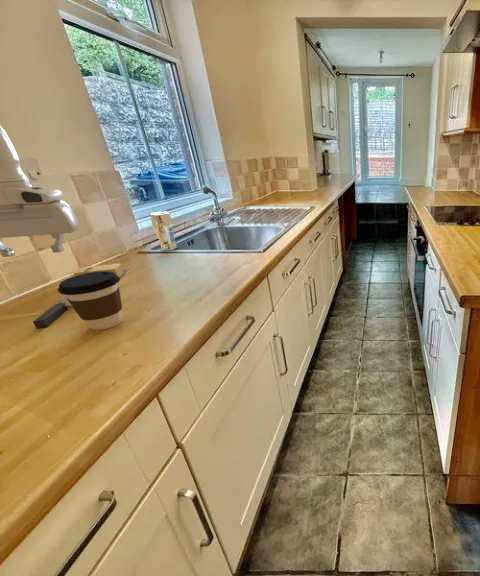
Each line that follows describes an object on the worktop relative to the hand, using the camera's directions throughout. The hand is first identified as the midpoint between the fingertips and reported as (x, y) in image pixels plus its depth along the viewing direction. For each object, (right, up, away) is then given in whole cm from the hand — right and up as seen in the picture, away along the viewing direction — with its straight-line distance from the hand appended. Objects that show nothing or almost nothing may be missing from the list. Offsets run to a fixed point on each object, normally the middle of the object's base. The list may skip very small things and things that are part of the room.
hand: (34, 253), depth 77 cm
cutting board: (-7, -7, +25) cm, 26 cm away
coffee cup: (+16, -17, +1) cm, 24 cm away
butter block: (-4, -5, +25) cm, 26 cm away
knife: (-1, -14, +9) cm, 16 cm away
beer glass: (-7, +9, +59) cm, 61 cm away
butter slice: (-9, -6, +23) cm, 26 cm away
